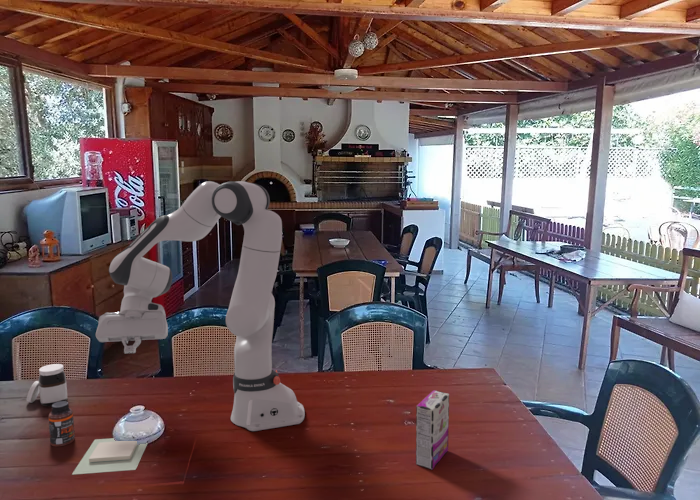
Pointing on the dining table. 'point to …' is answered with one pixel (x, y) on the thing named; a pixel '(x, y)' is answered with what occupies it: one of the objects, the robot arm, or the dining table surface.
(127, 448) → the tile
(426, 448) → the candy bar box
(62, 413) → the supplement bottle
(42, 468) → the dining table surface
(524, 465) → the dining table surface
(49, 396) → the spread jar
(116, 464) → the mat
